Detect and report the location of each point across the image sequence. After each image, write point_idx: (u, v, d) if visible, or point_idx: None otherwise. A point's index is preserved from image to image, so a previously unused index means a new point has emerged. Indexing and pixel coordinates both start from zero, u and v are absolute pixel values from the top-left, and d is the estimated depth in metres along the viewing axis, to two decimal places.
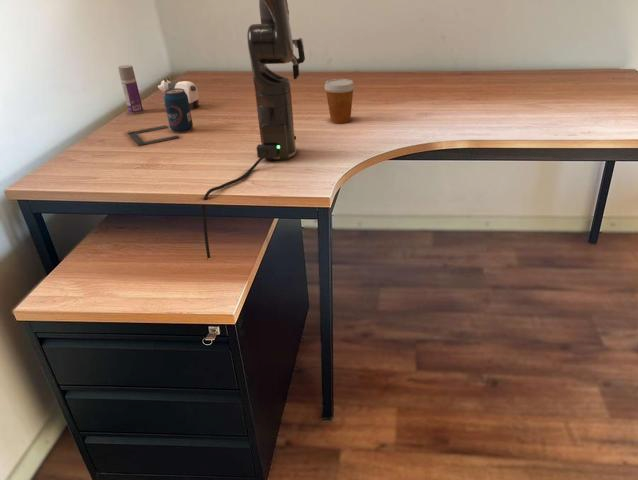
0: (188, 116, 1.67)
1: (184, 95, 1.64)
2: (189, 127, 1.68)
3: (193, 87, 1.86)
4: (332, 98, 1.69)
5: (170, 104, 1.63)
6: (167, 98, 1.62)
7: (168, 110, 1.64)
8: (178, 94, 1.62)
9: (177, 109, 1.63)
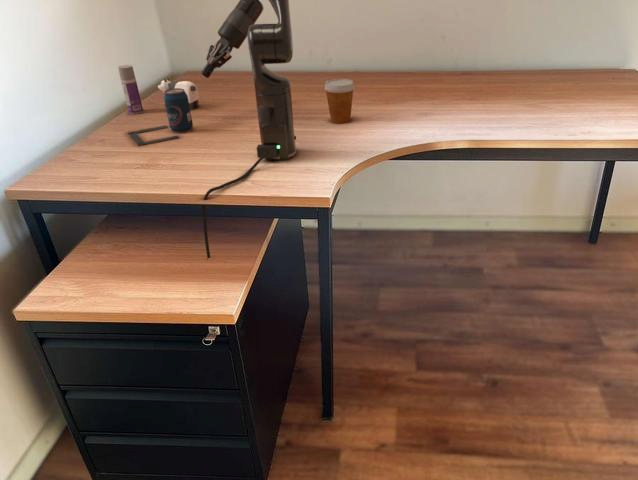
0: (188, 116, 1.67)
1: (184, 95, 1.64)
2: (189, 127, 1.68)
3: (193, 87, 1.86)
4: (332, 98, 1.69)
5: (170, 104, 1.63)
6: (167, 98, 1.62)
7: (168, 110, 1.64)
8: (178, 94, 1.62)
9: (177, 109, 1.63)
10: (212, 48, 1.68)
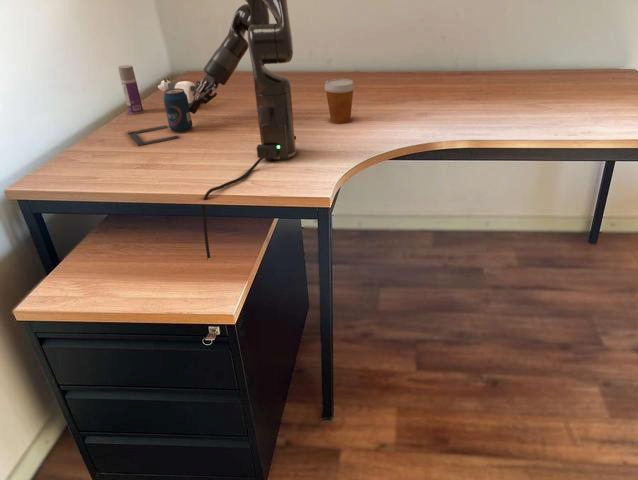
0: (188, 116, 1.67)
1: (183, 95, 1.64)
2: (189, 127, 1.68)
3: (193, 87, 1.86)
4: (332, 98, 1.69)
5: (169, 104, 1.63)
6: (167, 98, 1.62)
7: (168, 110, 1.64)
8: (178, 95, 1.62)
9: (176, 109, 1.63)
10: (198, 84, 1.71)
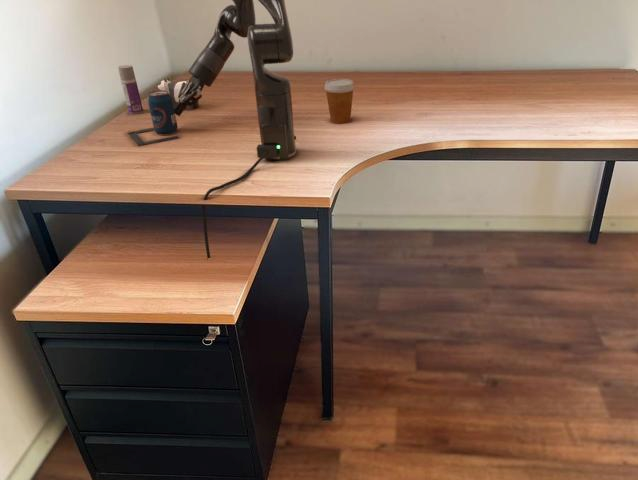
0: (172, 118, 1.65)
1: (168, 97, 1.62)
2: (173, 129, 1.66)
3: None
4: (332, 98, 1.69)
5: (153, 106, 1.61)
6: (151, 101, 1.60)
7: (152, 112, 1.62)
8: (162, 97, 1.60)
9: (160, 111, 1.62)
10: (184, 86, 1.69)
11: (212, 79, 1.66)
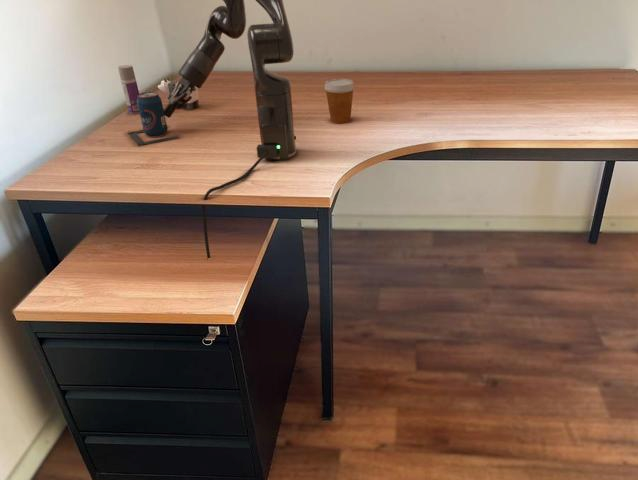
0: (162, 120, 1.64)
1: (157, 99, 1.61)
2: (163, 131, 1.65)
3: None
4: (332, 98, 1.69)
5: (143, 108, 1.60)
6: (140, 102, 1.59)
7: (141, 114, 1.61)
8: (152, 98, 1.59)
9: (150, 113, 1.60)
10: (174, 87, 1.68)
11: (202, 80, 1.64)
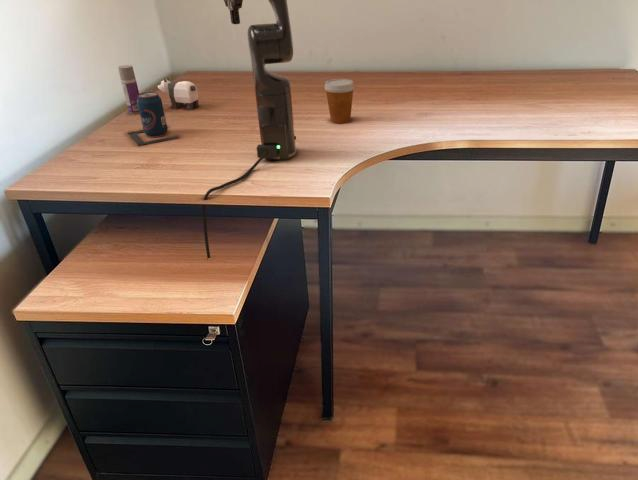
0: (162, 120, 1.64)
1: (158, 99, 1.61)
2: (163, 131, 1.65)
3: (193, 87, 1.86)
4: (332, 98, 1.69)
5: (143, 108, 1.60)
6: (140, 102, 1.59)
7: (141, 114, 1.61)
8: (152, 98, 1.59)
9: (150, 113, 1.60)
10: None
11: None
